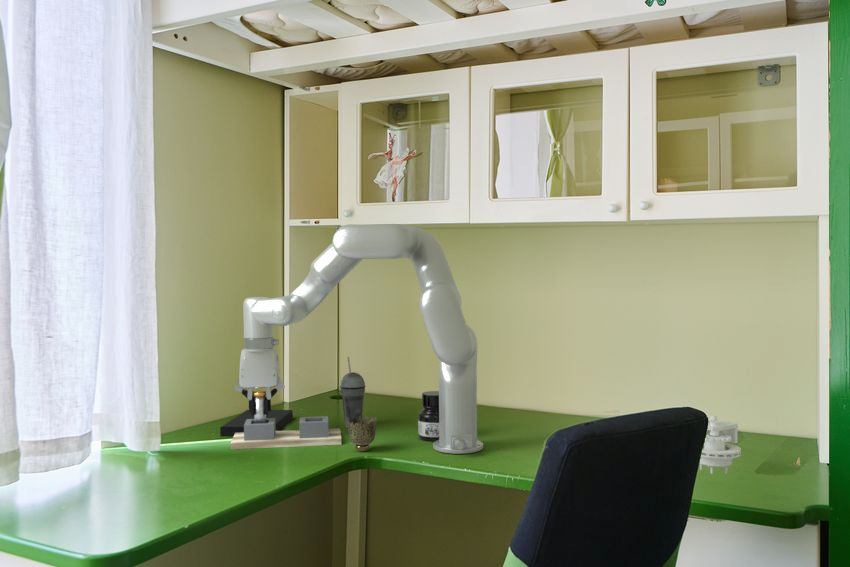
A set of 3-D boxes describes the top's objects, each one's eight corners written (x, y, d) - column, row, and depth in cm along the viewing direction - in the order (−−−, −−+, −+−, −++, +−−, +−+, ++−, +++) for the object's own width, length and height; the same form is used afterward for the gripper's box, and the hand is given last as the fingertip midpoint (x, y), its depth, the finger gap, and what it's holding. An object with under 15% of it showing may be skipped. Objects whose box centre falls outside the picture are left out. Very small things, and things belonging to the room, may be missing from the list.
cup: (372, 454, 188) (372, 422, 188) (343, 453, 189) (343, 421, 189) (380, 447, 195) (380, 416, 195) (352, 446, 197) (352, 415, 196)
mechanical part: (701, 478, 166) (701, 423, 166) (678, 463, 178) (679, 412, 178) (751, 476, 167) (751, 422, 166) (726, 461, 179) (726, 411, 178)
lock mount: (328, 437, 200) (328, 422, 200) (299, 438, 199) (299, 423, 199) (328, 430, 208) (327, 416, 207) (300, 431, 207) (299, 417, 206)
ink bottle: (412, 440, 202) (412, 395, 202) (422, 433, 211) (422, 389, 210) (448, 442, 199) (447, 397, 199) (457, 435, 208) (456, 391, 207)
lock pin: (267, 434, 200) (266, 392, 199) (252, 435, 199) (251, 393, 199) (268, 431, 204) (267, 389, 203) (253, 431, 203) (252, 390, 203)
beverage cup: (364, 429, 215) (363, 358, 214) (338, 429, 215) (337, 358, 215) (367, 424, 222) (366, 355, 222) (342, 424, 223) (341, 355, 222)
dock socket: (273, 439, 198) (273, 424, 198) (244, 440, 197) (243, 425, 197) (275, 432, 206) (275, 418, 206) (246, 434, 205) (246, 419, 204)
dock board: (341, 444, 198) (341, 438, 198) (230, 449, 195) (230, 443, 195) (340, 433, 210) (339, 428, 210) (235, 438, 206) (235, 432, 206)
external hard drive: (220, 437, 209) (220, 426, 209) (246, 419, 232) (246, 409, 232) (271, 438, 208) (271, 427, 208) (292, 419, 231) (292, 410, 231)
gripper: (290, 341, 205) (292, 410, 206) (228, 343, 203) (229, 412, 204) (289, 345, 198) (291, 415, 199) (225, 346, 196) (226, 418, 196)
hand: (260, 413), depth 201 cm, fingers closed on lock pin, 2 cm apart
